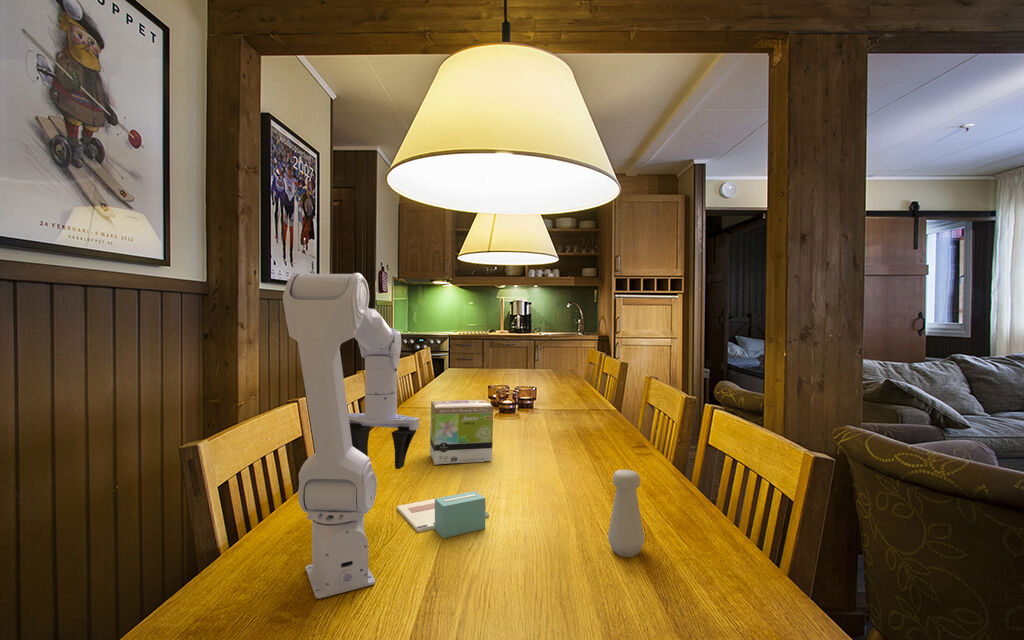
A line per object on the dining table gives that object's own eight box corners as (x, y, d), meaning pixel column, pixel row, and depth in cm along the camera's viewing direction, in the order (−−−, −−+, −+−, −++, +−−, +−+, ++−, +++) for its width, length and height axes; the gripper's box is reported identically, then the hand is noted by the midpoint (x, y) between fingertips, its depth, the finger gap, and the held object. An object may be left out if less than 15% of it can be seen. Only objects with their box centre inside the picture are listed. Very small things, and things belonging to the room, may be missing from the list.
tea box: (434, 466, 127) (434, 407, 127) (429, 455, 137) (429, 400, 137) (493, 462, 131) (493, 404, 131) (484, 451, 141) (485, 398, 141)
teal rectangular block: (485, 528, 91) (485, 497, 91) (443, 538, 87) (443, 505, 87) (475, 520, 95) (475, 490, 95) (434, 529, 91) (434, 498, 91)
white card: (489, 516, 97) (489, 512, 97) (417, 532, 90) (417, 528, 90) (462, 496, 107) (462, 492, 107) (396, 509, 100) (396, 505, 100)
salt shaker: (618, 539, 87) (619, 463, 87) (650, 550, 84) (651, 470, 83) (601, 552, 83) (601, 472, 82) (633, 563, 79) (634, 480, 79)
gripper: (426, 391, 97) (426, 462, 97) (358, 387, 100) (358, 456, 101) (409, 397, 90) (409, 474, 90) (336, 393, 94) (336, 467, 94)
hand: (380, 465), depth 95 cm, fingers open, 7 cm apart
